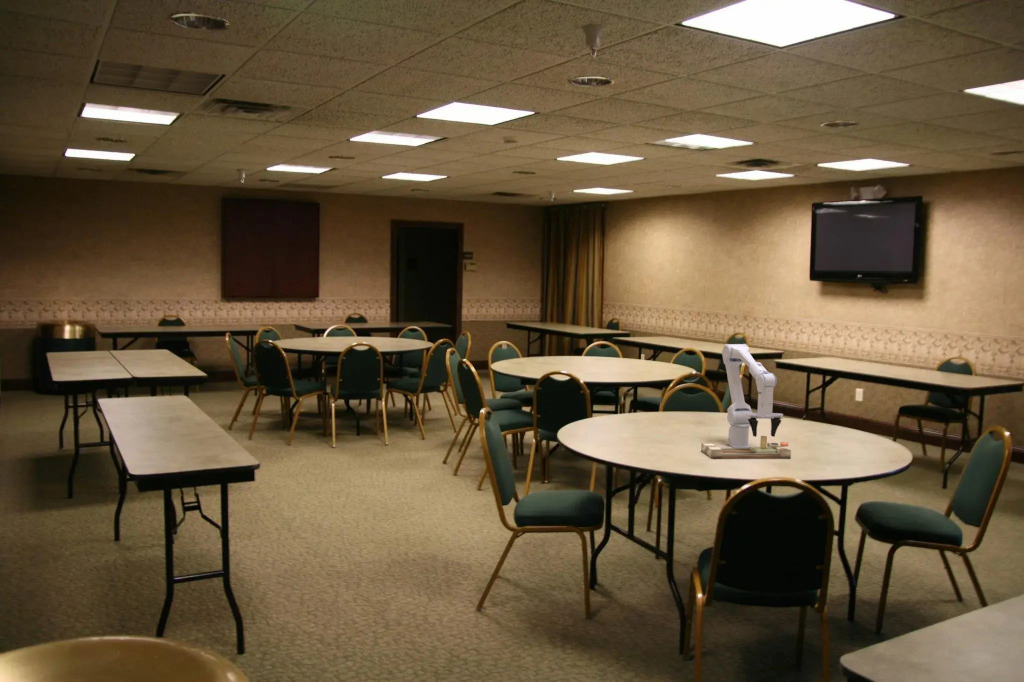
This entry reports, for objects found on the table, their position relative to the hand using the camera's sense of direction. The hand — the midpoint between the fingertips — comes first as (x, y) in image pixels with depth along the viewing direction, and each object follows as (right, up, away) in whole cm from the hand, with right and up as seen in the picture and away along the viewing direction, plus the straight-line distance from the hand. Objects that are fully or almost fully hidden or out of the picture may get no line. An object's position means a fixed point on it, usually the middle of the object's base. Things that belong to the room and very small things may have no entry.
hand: (763, 436), depth 322 cm
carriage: (0, -6, 0) cm, 7 cm away
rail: (-8, -8, 0) cm, 11 cm away
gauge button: (+7, -3, -4) cm, 9 cm away
